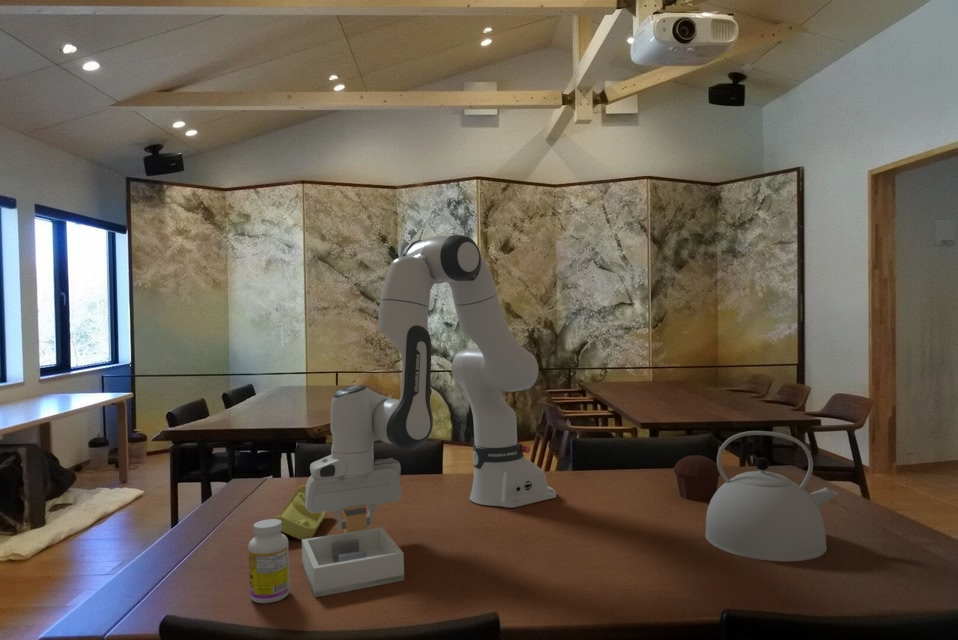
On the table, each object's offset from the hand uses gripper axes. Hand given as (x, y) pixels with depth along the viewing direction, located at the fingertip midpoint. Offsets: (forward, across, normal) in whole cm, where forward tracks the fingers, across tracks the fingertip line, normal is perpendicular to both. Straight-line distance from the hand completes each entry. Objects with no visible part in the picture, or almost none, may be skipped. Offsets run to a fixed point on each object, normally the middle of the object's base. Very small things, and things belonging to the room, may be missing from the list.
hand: (355, 527), depth 139 cm
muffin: (+4, -86, +7) cm, 86 cm away
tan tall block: (+3, 0, 0) cm, 3 cm away
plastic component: (+4, +9, -15) cm, 18 cm away
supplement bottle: (+3, +19, +20) cm, 28 cm away
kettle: (+4, -77, +38) cm, 86 cm away
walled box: (+3, +4, +16) cm, 17 cm away
